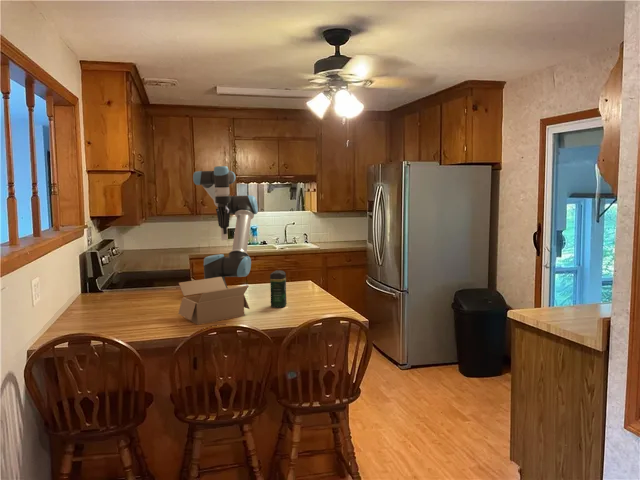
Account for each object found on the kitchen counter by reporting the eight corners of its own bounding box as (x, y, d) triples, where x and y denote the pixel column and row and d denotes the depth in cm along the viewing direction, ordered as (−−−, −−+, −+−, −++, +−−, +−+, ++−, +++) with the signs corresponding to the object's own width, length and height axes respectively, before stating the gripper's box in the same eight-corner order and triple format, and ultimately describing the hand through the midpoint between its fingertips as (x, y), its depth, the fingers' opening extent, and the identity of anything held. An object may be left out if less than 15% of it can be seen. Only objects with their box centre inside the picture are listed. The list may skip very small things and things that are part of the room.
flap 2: (198, 301, 233) (203, 292, 228) (242, 294, 247) (248, 285, 241) (198, 302, 233) (203, 293, 228) (243, 295, 247) (248, 286, 241)
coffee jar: (284, 308, 261) (283, 272, 259) (269, 308, 262) (268, 272, 260) (288, 303, 271) (287, 269, 269) (273, 303, 272) (272, 269, 270)
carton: (177, 319, 245) (176, 298, 244) (235, 308, 264) (234, 288, 262) (191, 326, 233) (189, 304, 232) (250, 314, 251) (249, 293, 250)
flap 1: (183, 296, 247) (178, 283, 251) (226, 289, 261) (221, 277, 265) (184, 295, 247) (179, 282, 251) (227, 288, 260) (221, 276, 264)
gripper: (210, 195, 273) (212, 239, 275) (221, 196, 262) (223, 241, 265) (223, 195, 277) (225, 238, 280) (234, 195, 266) (236, 240, 269)
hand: (224, 240), depth 272 cm, fingers closed
